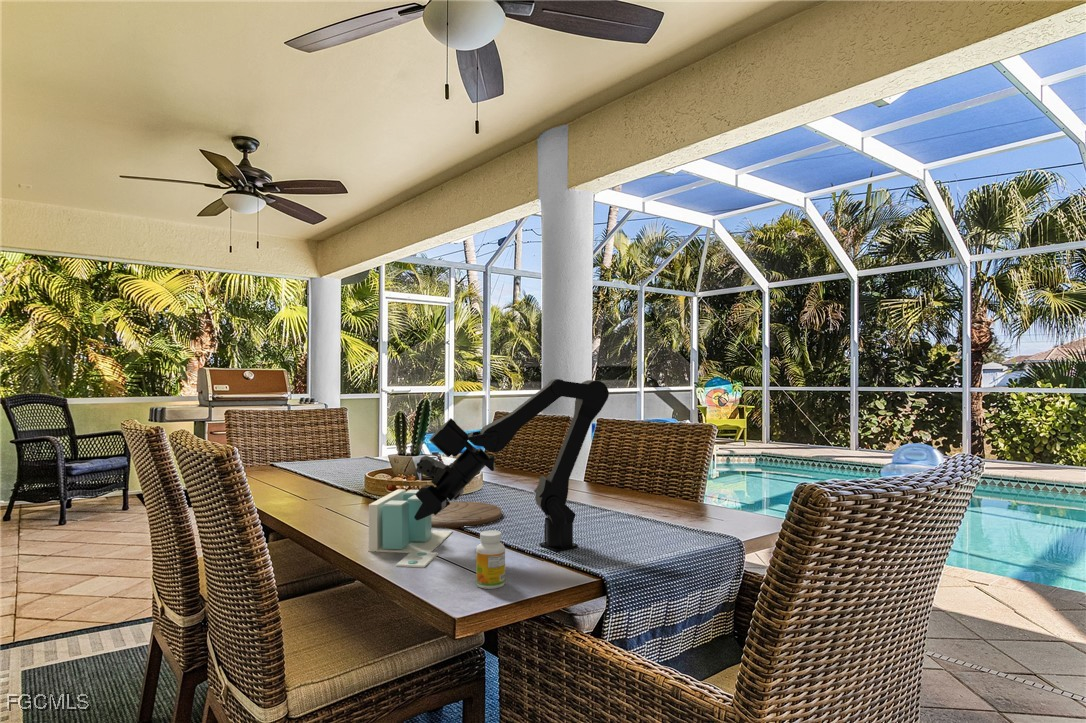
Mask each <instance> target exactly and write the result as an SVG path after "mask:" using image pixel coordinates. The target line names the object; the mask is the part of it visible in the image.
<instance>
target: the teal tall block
mask: <svg viewBox="0 0 1086 723" xmlns="http://www.w3.org/2000/svg"><path fill="white" fill-rule="evenodd" d="M408 544H409V502H408V501H395V500H391V501H389V502H387V503H385V504H384V506H383V549H403V548H404V547H405V546H407V545H408Z"/></svg>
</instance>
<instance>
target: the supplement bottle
mask: <svg viewBox="0 0 1086 723" xmlns="http://www.w3.org/2000/svg"><path fill="white" fill-rule="evenodd" d="M479 540H480V543H479V544H478V545H477V546H476V552H475V553H476V557H475V558H476V561H475V562H476V563H475V564H476V567H475V568H476V571H475V572H476V573H475V575H476V578H475V579H476V581H475V582H476V583H475V584H476V586H477V587H479V588H481V589H486V590H493V589H499V588H501V587H503V586H504V585H505V583H506V547H505V545H504V544H503V543H502V542H501V541H502V532H501V531H499V530H495V529H494V530H493V529H491V530H483V531H481V532H480V533H479Z"/></svg>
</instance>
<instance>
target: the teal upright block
mask: <svg viewBox="0 0 1086 723" xmlns="http://www.w3.org/2000/svg"><path fill="white" fill-rule="evenodd" d="M407 501H408V502H409V541H417V542H426V541H427V540H428V539H429V538H430V537H431V530H432V527H431V515H429V516H427V517H425V518H422V519H420V520H418V521H417V520H416V519H415V518H414V516H415V515H416V513H417V511H418V510H419V508H420V506H421V504H422V502H421V501H420V500H419V499H418V498H417V497H416V495H413V496H412V497H410V498H408V500H407Z"/></svg>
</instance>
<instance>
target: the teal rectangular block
mask: <svg viewBox="0 0 1086 723" xmlns="http://www.w3.org/2000/svg"><path fill="white" fill-rule="evenodd" d="M419 490H420V489H408V490H407V491H406V492H405V494H403V501H407V500H408V498H410V497H412V496H413V495H416V493H417V492H418V491H419Z"/></svg>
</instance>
